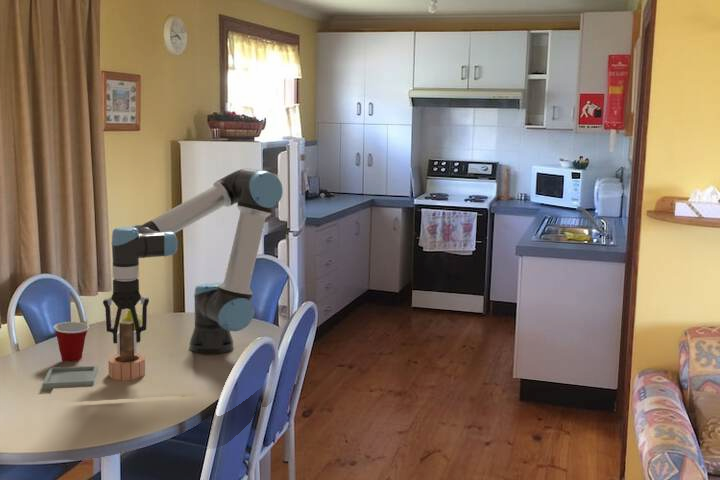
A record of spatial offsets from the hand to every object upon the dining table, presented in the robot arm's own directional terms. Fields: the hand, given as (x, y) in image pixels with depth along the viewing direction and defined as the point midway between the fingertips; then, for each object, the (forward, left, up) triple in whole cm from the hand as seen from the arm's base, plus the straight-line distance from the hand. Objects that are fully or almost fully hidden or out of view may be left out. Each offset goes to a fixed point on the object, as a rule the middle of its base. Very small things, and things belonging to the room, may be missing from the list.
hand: (127, 352), depth 224 cm
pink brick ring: (0, 0, -8) cm, 8 cm away
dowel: (0, 0, -7) cm, 7 cm away
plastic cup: (+18, -18, -8) cm, 27 cm away
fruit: (+1, -50, -8) cm, 51 cm away
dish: (+16, +1, -8) cm, 18 cm away
